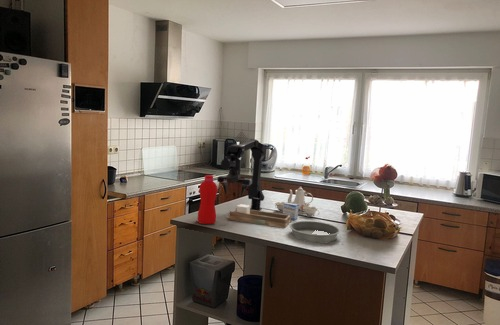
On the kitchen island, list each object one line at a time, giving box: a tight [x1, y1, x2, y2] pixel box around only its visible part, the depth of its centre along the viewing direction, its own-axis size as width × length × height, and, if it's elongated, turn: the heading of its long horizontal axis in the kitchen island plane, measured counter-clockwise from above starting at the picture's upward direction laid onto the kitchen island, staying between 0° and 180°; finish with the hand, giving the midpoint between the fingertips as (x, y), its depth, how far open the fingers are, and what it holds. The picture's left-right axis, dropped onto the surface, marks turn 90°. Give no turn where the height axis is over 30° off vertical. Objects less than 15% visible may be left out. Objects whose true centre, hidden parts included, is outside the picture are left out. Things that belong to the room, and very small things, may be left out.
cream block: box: [235, 203, 251, 214], centre depth 217 cm, size 6×6×5 cm
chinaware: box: [274, 186, 320, 218], centre depth 237 cm, size 28×17×17 cm, turn 71°
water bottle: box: [197, 174, 218, 225], centre depth 203 cm, size 9×11×25 cm
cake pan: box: [289, 220, 341, 243], centre depth 192 cm, size 25×25×4 cm
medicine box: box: [282, 201, 299, 221], centre depth 223 cm, size 8×4×9 cm, turn 62°
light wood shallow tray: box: [227, 210, 292, 229], centre depth 214 cm, size 14×32×4 cm, turn 72°
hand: (233, 195), depth 217 cm, fingers open, 9 cm apart
